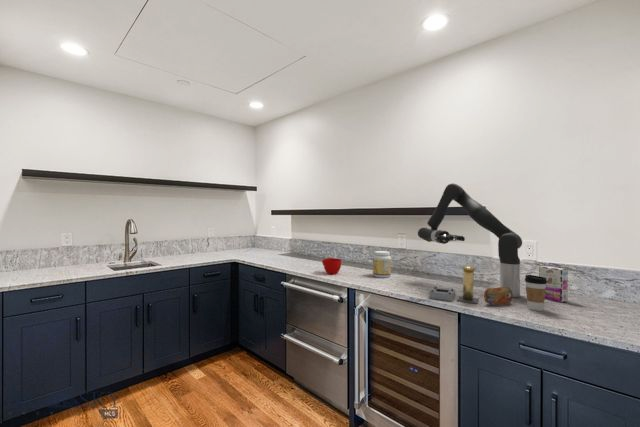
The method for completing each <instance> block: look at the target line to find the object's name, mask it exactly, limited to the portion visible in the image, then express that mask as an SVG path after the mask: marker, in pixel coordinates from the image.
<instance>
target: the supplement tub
mask: <svg viewBox="0 0 640 427" xmlns="http://www.w3.org/2000/svg"><path fill="white" fill-rule="evenodd" d="M373 253H374V255H373V256H372V276H373V277H375V278H379V279H380V278H381V279H382V278H383V279H385V278H390V277H391V274H392V271H391V270H392V258H391V256H390V255H391V254H390V253H391V252H390V251H387V250H376V251H374V252H373Z"/></svg>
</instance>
